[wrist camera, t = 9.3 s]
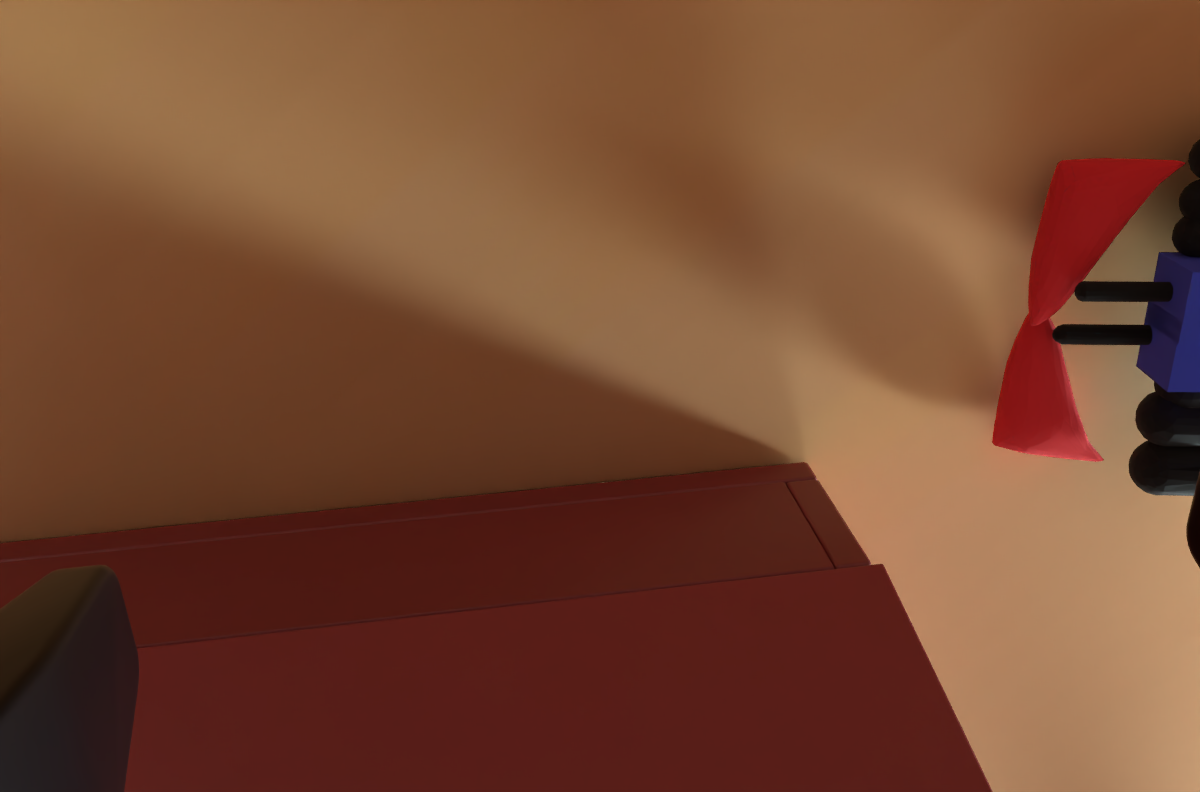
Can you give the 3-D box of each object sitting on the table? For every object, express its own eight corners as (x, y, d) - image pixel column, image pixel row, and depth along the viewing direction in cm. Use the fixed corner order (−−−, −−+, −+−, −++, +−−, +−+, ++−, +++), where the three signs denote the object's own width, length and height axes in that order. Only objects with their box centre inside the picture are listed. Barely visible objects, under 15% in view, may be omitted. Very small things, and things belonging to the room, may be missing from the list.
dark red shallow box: (780, 838, 29) (830, 970, 25) (92, 938, 26) (50, 1096, 23) (807, 459, 24) (873, 562, 20) (-36, 544, 22) (-113, 674, 18)
